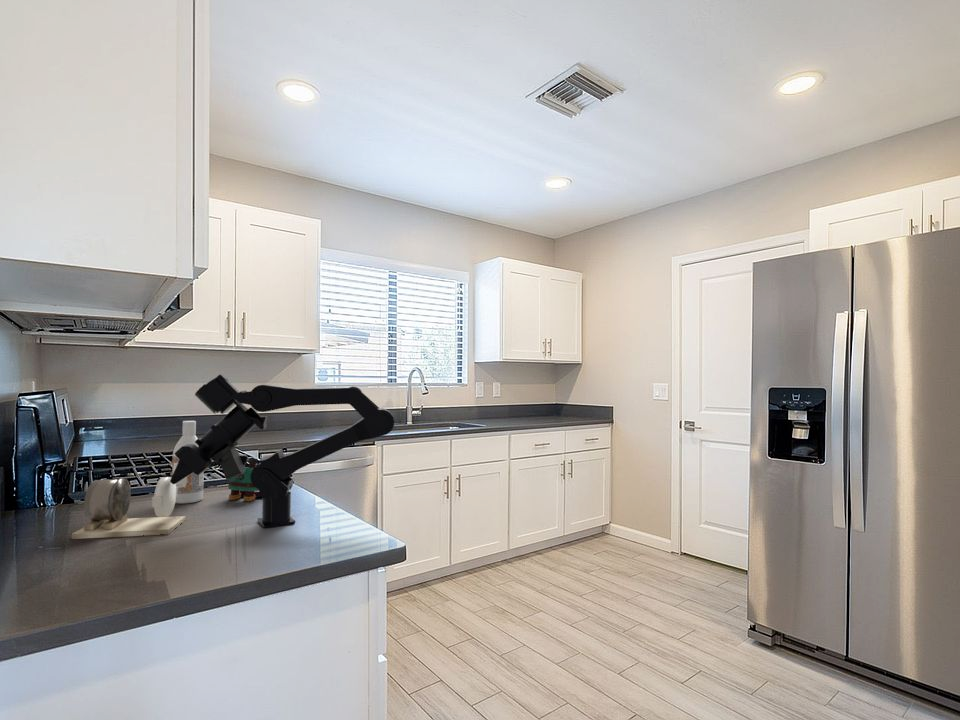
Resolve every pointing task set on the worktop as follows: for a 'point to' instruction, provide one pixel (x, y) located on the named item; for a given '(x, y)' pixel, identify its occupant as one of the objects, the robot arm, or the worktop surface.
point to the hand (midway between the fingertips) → (172, 482)
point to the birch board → (129, 527)
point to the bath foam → (193, 483)
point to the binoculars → (243, 484)
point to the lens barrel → (107, 500)
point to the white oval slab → (164, 497)
